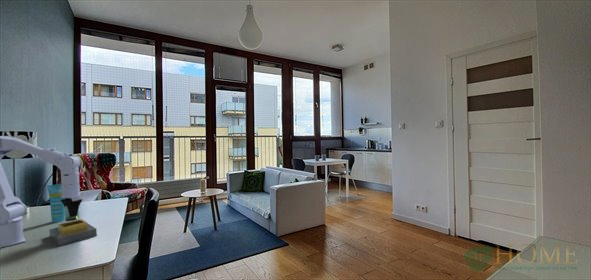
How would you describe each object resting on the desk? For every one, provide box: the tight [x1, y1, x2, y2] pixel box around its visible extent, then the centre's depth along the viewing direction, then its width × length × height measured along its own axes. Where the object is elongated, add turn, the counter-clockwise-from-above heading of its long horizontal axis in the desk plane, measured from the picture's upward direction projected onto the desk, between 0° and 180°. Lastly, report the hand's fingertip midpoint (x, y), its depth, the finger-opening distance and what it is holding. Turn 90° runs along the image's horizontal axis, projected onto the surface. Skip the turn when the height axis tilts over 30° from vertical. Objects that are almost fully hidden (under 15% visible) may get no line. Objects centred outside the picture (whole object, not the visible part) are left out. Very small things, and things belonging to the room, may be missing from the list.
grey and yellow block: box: [48, 218, 98, 247], centre depth 108 cm, size 12×18×6 cm, turn 53°
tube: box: [46, 183, 65, 223], centre depth 130 cm, size 7×5×19 cm, turn 123°
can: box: [64, 206, 80, 222], centre depth 108 cm, size 4×4×6 cm
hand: (72, 215), depth 108 cm, fingers closed on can, 4 cm apart
